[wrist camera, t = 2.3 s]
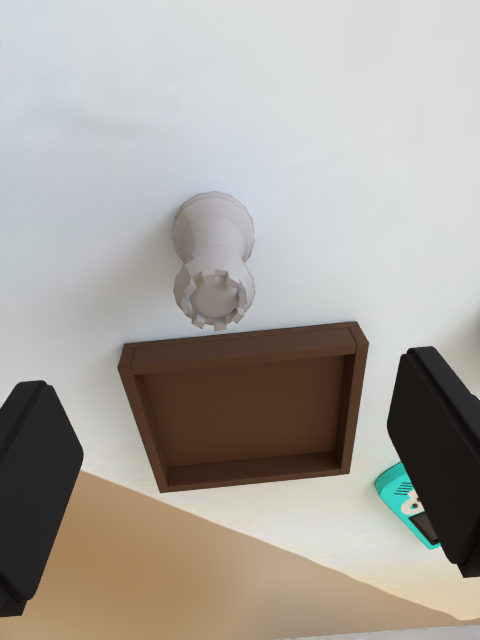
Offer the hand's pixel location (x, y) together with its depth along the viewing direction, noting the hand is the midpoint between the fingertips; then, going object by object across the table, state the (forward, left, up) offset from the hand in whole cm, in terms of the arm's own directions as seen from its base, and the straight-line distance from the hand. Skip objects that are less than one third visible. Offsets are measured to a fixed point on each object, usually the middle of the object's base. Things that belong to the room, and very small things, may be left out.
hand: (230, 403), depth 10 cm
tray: (+1, -14, -13) cm, 19 cm away
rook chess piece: (0, 0, -13) cm, 13 cm away
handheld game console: (+20, -29, -13) cm, 38 cm away
